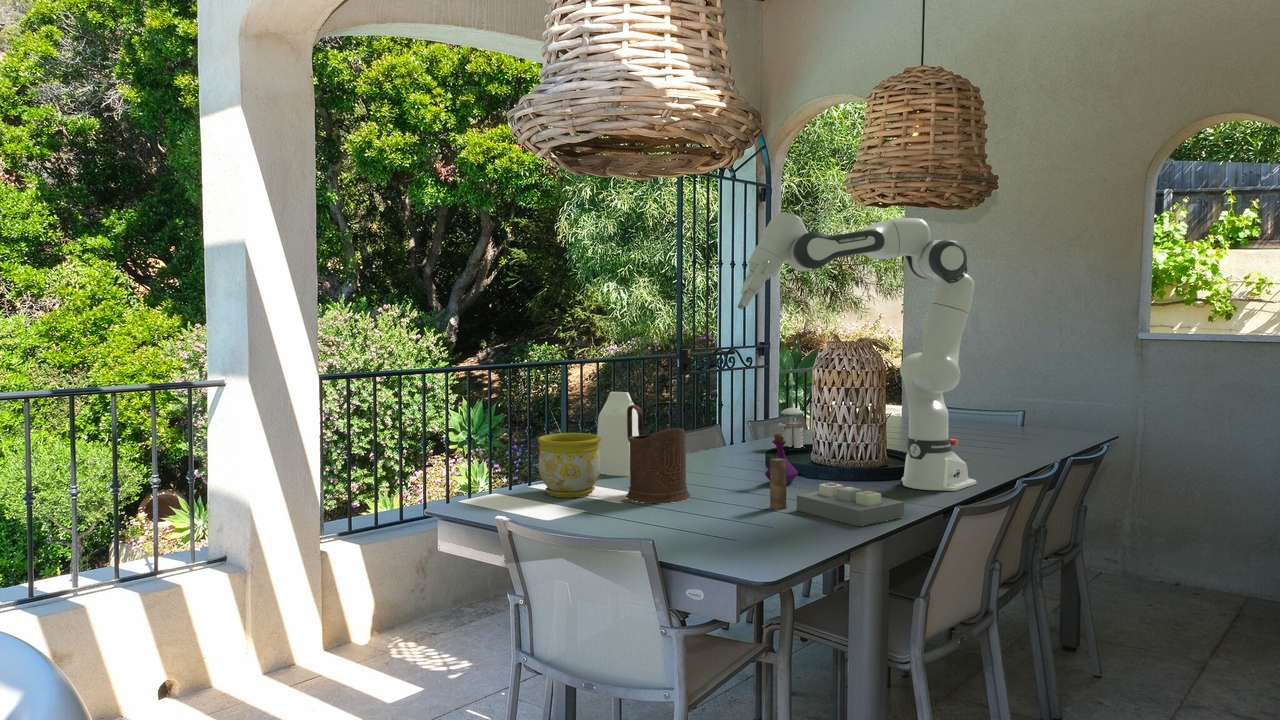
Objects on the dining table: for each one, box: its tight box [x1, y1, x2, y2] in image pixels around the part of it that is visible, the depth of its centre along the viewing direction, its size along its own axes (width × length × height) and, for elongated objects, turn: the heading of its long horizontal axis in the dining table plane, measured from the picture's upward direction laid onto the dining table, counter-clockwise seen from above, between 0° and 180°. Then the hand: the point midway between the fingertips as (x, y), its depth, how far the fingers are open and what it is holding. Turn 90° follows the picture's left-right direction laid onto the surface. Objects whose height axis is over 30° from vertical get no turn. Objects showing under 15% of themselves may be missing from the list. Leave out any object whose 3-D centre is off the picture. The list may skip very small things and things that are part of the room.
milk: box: [596, 391, 639, 477], centre depth 297 cm, size 12×12×26 cm
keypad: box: [796, 490, 905, 527], centre depth 237 cm, size 16×22×4 cm
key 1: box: [818, 482, 844, 497], centre depth 242 cm, size 4×4×4 cm
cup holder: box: [625, 404, 691, 504], centre depth 262 cm, size 18×24×25 cm
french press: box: [780, 381, 804, 448], centre depth 337 cm, size 10×12×25 cm
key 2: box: [856, 490, 882, 506], centre depth 231 cm, size 4×4×4 cm
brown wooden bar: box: [769, 457, 787, 510], centre depth 244 cm, size 3×3×13 cm
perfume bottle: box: [764, 423, 799, 486], centre depth 275 cm, size 8×8×18 cm
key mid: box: [837, 486, 863, 502], centre depth 237 cm, size 4×4×4 cm
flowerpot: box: [537, 432, 601, 499], centre depth 265 cm, size 18×18×16 cm
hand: (741, 307), depth 260 cm, fingers open, 8 cm apart
